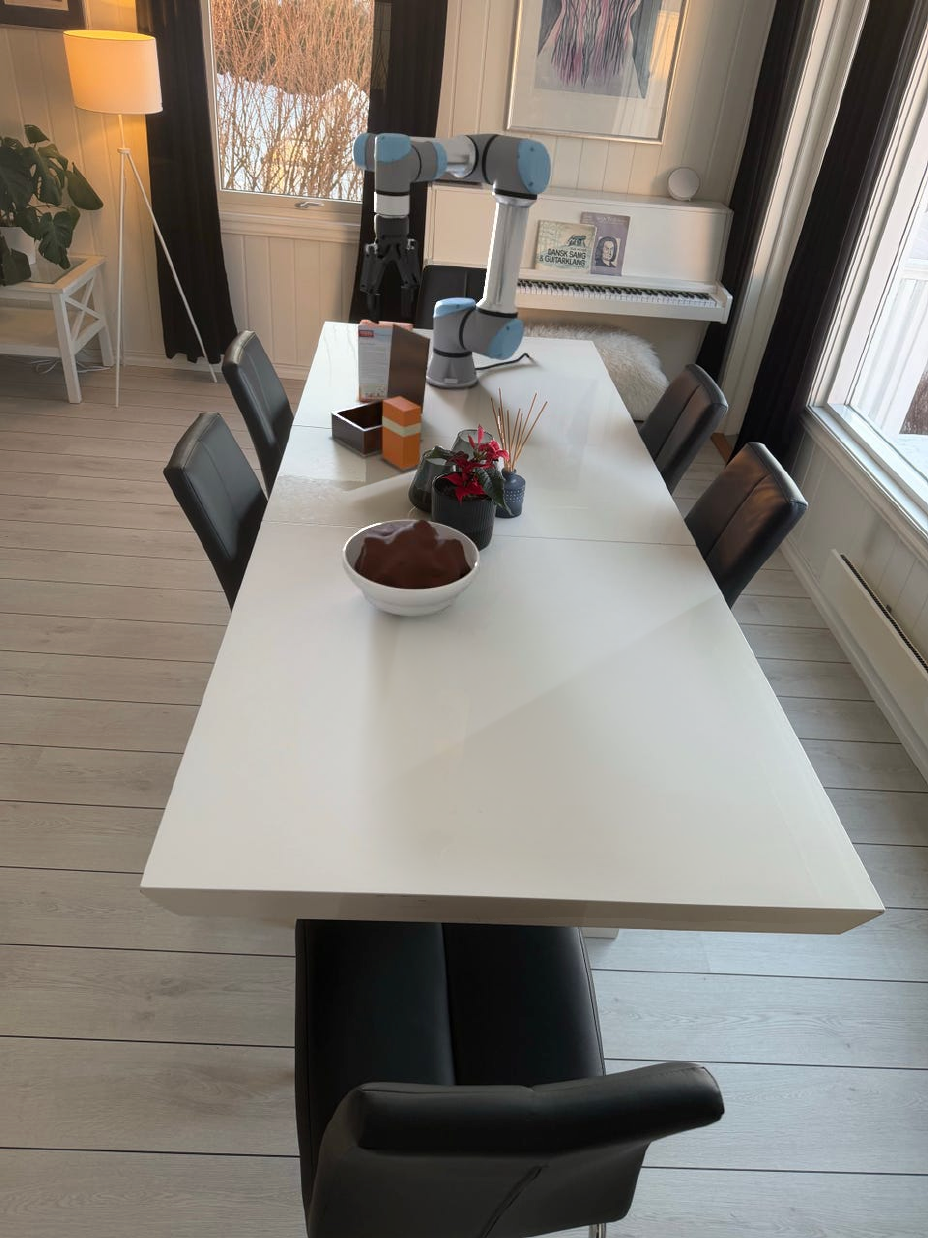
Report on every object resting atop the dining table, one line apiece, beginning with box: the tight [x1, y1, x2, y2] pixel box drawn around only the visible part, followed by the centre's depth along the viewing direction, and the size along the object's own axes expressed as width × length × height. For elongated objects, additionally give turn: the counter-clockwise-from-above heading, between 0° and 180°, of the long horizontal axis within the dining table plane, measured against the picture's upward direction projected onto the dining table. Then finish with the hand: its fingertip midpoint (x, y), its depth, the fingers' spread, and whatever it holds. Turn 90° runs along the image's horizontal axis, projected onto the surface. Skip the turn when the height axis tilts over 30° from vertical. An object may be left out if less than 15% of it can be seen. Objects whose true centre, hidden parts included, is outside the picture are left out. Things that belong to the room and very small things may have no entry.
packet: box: [381, 396, 422, 470], centre depth 200 cm, size 5×8×15 cm, turn 42°
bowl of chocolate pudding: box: [341, 518, 482, 617], centre depth 154 cm, size 25×25×15 cm
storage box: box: [330, 399, 422, 456], centre depth 213 cm, size 18×14×7 cm
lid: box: [387, 322, 431, 415], centre depth 210 cm, size 18×14×1 cm
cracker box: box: [357, 319, 414, 403], centre depth 230 cm, size 14×6×21 cm, turn 84°
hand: (390, 319), depth 200 cm, fingers open, 9 cm apart
